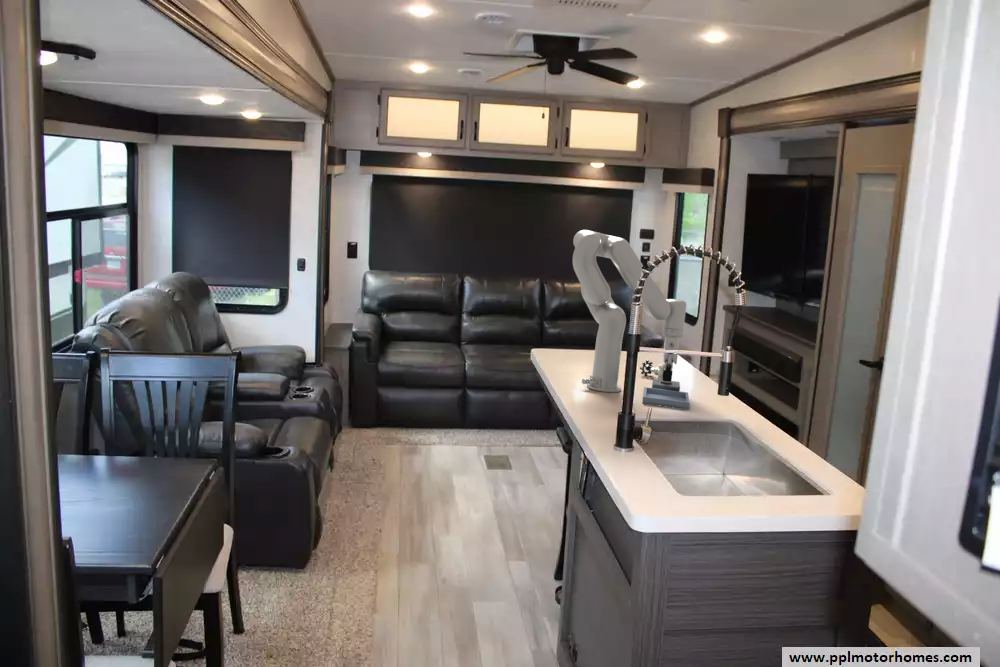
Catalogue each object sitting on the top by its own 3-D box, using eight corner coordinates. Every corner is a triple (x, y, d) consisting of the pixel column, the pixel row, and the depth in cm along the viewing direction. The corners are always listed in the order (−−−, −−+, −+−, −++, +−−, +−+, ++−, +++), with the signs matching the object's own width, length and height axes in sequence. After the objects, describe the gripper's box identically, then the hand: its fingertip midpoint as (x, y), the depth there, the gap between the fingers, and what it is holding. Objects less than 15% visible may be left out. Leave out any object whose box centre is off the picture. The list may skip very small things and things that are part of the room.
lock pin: (665, 393, 314) (668, 365, 312) (659, 391, 316) (662, 363, 314) (671, 392, 315) (674, 365, 314) (665, 390, 318) (668, 363, 316)
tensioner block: (678, 396, 310) (680, 387, 309) (651, 393, 312) (652, 384, 311) (678, 390, 320) (679, 381, 319) (651, 387, 321) (653, 378, 321)
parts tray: (688, 409, 292) (689, 402, 292) (642, 403, 295) (643, 396, 294) (687, 399, 308) (688, 392, 307) (643, 393, 310) (644, 386, 310)
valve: (671, 382, 335) (650, 375, 345) (673, 366, 334) (652, 359, 343) (659, 383, 331) (638, 375, 341) (661, 366, 330) (640, 360, 340)
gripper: (683, 337, 303) (677, 385, 306) (682, 330, 320) (676, 375, 323) (662, 334, 304) (656, 382, 307) (662, 327, 321) (656, 373, 324)
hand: (666, 378), depth 315 cm, fingers open, 6 cm apart
